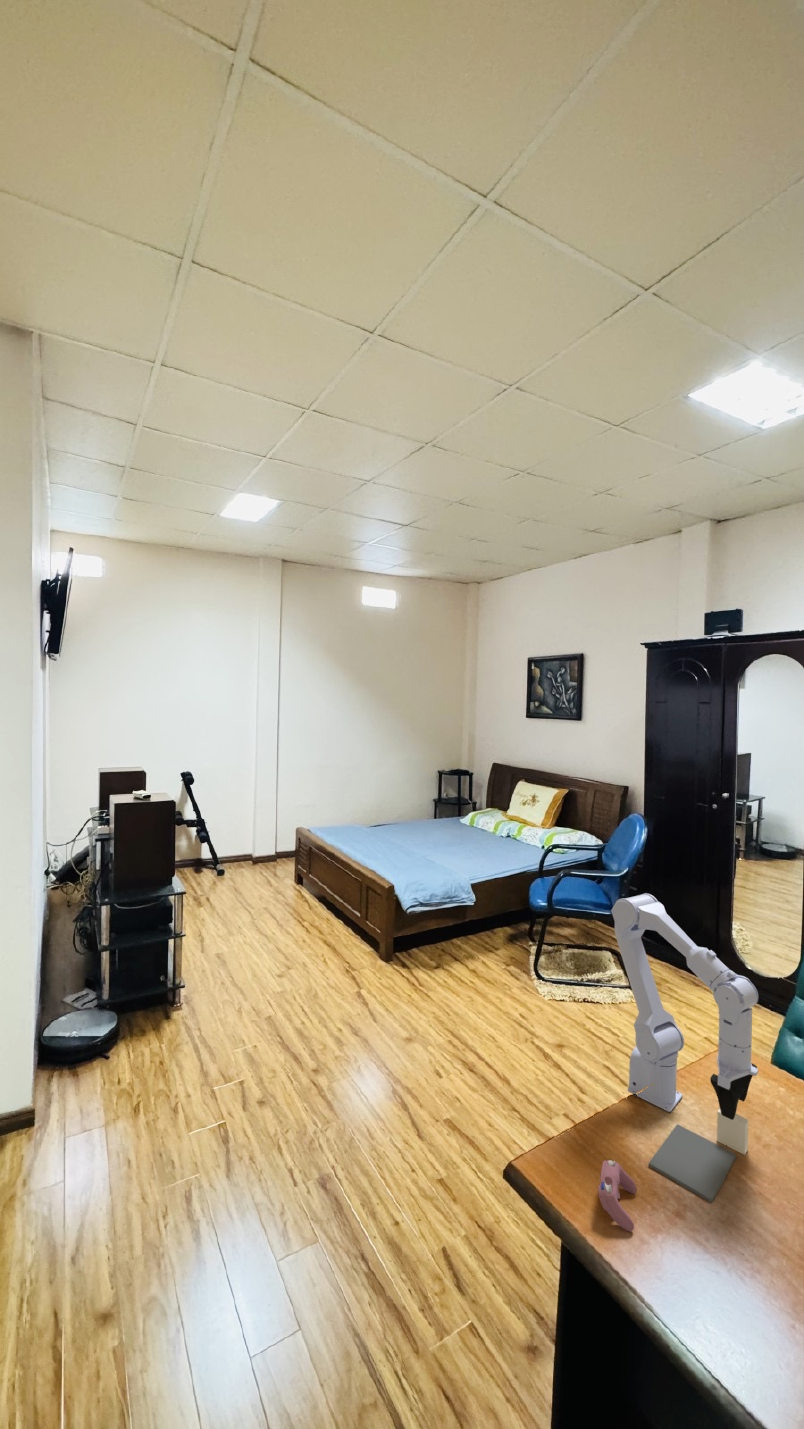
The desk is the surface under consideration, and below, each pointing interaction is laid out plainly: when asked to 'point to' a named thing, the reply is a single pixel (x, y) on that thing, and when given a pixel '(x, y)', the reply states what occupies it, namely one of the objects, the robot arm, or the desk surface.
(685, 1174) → the mat
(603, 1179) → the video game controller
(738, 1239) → the desk surface
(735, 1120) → the block
